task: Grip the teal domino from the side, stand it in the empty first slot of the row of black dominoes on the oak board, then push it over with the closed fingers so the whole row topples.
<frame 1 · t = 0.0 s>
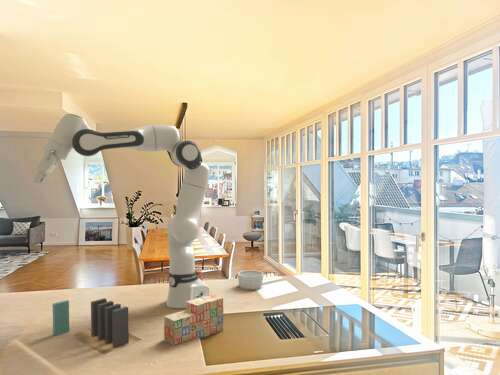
hand: (37, 182, 150), 54 cm above the counter, tool tilted 30°, fingers open, 8 cm apart
domino 1: (61, 335, 138), on the counter
oak board: (106, 340, 134), on the counter
domino 4: (113, 341, 131), point 1 cm above the counter, touching oak board
domino 2: (99, 334, 137), point 1 cm above the counter, touching oak board
stack of blocks: (194, 337, 138), on the counter
ramekin: (250, 287, 198), on the counter
domino 5: (120, 344, 129), point 1 cm above the counter, touching oak board
domino 3: (106, 337, 134), point 1 cm above the counter, touching oak board
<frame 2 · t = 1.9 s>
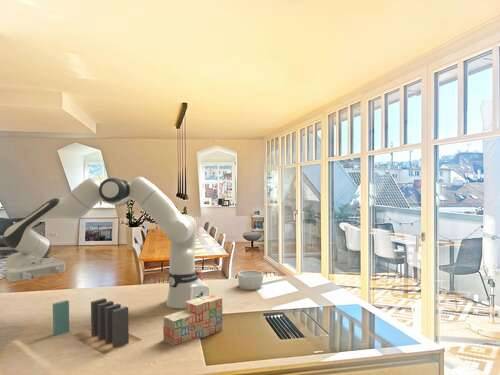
hand: (45, 274, 145), 20 cm above the counter, tool horizontal, fingers open, 8 cm apart
nothing on the counter moved.
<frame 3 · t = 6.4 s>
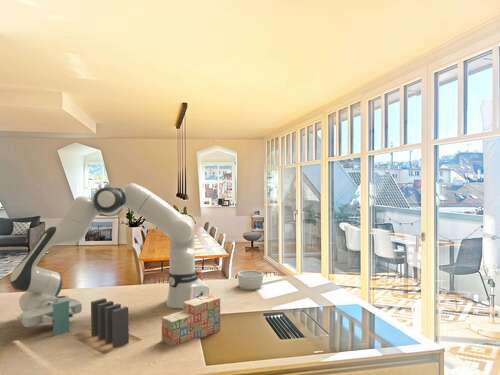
hand: (62, 317, 137), 7 cm above the counter, tool horizontal, fingers closed on domino 1, 5 cm apart
domino 1: (61, 335, 138), on the counter, touching gripper
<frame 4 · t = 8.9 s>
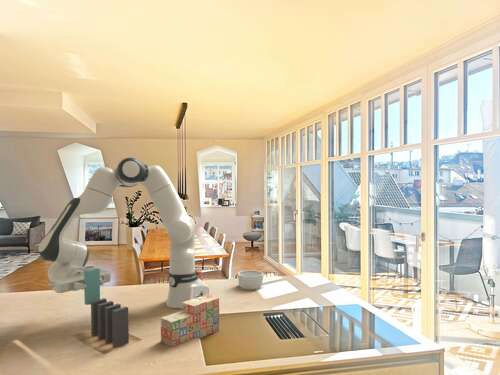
hand: (93, 284, 139), 18 cm above the counter, tool horizontal, fingers closed on domino 1, 5 cm apart
domino 1: (92, 302, 140), point 11 cm above the counter, touching gripper
when the fingers open (9 cm above the counter, at t = 11.5 s): domino 1 drops 1 cm, resting on oak board.
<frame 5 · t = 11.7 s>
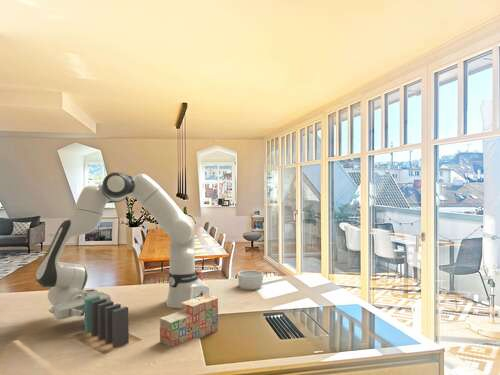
hand: (93, 310, 139), 9 cm above the counter, tool horizontal, fingers open, 7 cm apart
domino 1: (92, 330, 140), point 1 cm above the counter, touching oak board
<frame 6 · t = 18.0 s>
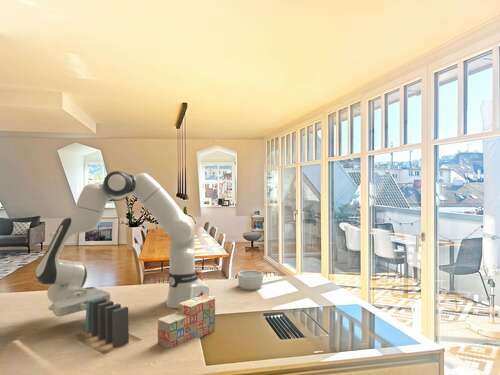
hand: (92, 307, 140), 9 cm above the counter, tool horizontal, fingers closed
domino 1: (92, 330, 140), point 1 cm above the counter, tilted 9°, touching oak board
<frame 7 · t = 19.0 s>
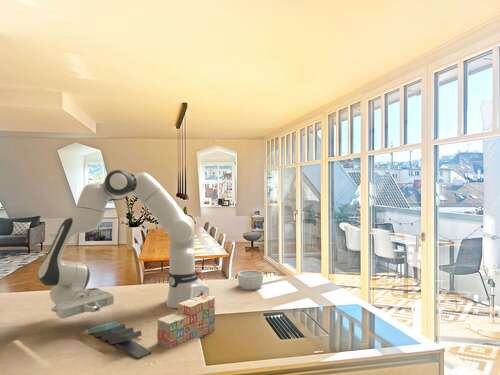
hand: (96, 309, 138), 10 cm above the counter, tool horizontal, fingers closed
domino 1: (94, 329, 139), point 2 cm above the counter, tilted 69°, touching domino 2, oak board
domino 4: (115, 339, 130), point 2 cm above the counter, tilted 68°, touching domino 3, domino 5
domino 2: (101, 332, 136), point 2 cm above the counter, tilted 69°, touching domino 1, domino 3, oak board
domino 5: (122, 343, 128), point 2 cm above the counter, tilted 95°, touching domino 4, oak board
domino 3: (108, 336, 133), point 2 cm above the counter, tilted 68°, touching domino 2, domino 4, oak board
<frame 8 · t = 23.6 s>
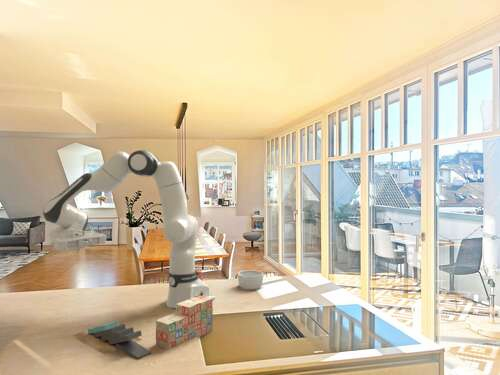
hand: (90, 243, 153), 30 cm above the counter, tool horizontal, fingers closed
at the end: domino 5 tilted 95°; domino 1 inside the target area (0.3 cm from its centre), point 1.7 cm above the counter; the gripper is holding nothing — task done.
